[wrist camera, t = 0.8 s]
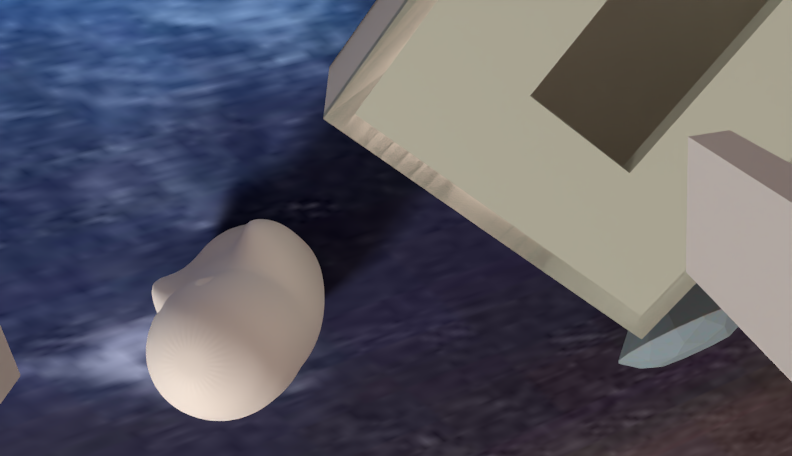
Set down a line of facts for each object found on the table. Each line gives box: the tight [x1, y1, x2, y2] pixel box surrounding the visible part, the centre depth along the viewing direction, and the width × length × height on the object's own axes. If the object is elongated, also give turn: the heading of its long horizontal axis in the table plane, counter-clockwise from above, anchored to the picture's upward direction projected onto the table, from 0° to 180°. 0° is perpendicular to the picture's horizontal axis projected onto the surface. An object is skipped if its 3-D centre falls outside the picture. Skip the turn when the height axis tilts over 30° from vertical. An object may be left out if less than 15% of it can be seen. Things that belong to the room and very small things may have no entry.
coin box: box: [323, 0, 792, 339], centre depth 31 cm, size 16×18×10 cm
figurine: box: [146, 219, 324, 421], centre depth 34 cm, size 7×8×12 cm
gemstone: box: [619, 283, 738, 368], centre depth 40 cm, size 8×8×5 cm
